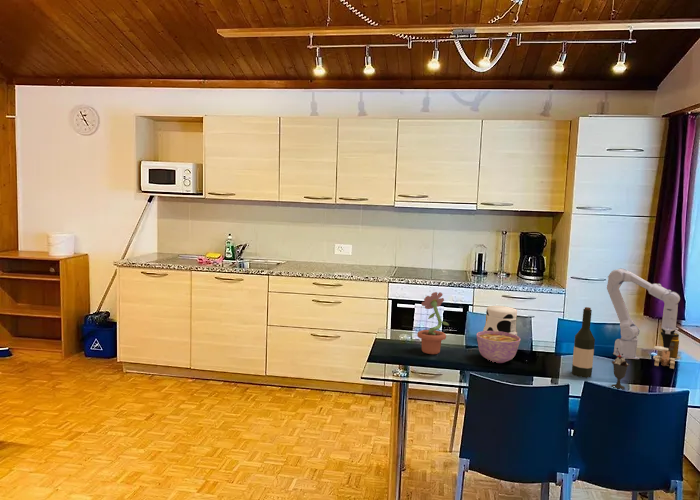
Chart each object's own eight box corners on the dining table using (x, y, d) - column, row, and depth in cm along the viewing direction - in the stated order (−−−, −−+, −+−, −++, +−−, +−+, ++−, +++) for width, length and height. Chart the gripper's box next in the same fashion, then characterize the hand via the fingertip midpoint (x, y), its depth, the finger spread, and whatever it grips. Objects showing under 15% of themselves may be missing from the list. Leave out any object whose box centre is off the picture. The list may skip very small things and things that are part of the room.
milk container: (480, 336, 292) (483, 304, 290) (513, 339, 290) (516, 306, 288) (484, 345, 275) (486, 311, 273) (518, 348, 273) (521, 313, 271)
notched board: (673, 368, 250) (674, 363, 250) (654, 365, 254) (654, 360, 254) (674, 363, 259) (674, 358, 258) (655, 360, 263) (655, 355, 262)
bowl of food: (521, 358, 255) (523, 334, 254) (515, 370, 237) (517, 344, 236) (479, 351, 264) (481, 328, 263) (470, 362, 246) (472, 337, 244)
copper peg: (669, 366, 253) (671, 352, 253) (663, 366, 254) (664, 351, 253) (666, 364, 256) (667, 350, 256) (659, 364, 257) (661, 349, 256)
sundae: (610, 382, 227) (614, 348, 225) (628, 386, 223) (631, 351, 221) (607, 387, 221) (611, 351, 219) (625, 391, 217) (629, 355, 216)
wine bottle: (567, 371, 239) (573, 305, 236) (585, 371, 240) (591, 305, 237) (577, 377, 231) (583, 309, 228) (595, 378, 232) (602, 310, 229)
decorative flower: (438, 347, 268) (442, 288, 264) (452, 355, 255) (456, 293, 251) (411, 348, 263) (415, 288, 260) (424, 357, 250) (428, 294, 247)
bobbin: (657, 361, 261) (659, 349, 260) (650, 357, 267) (651, 345, 266) (669, 361, 261) (671, 349, 261) (662, 357, 267) (663, 346, 267)
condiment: (680, 357, 269) (683, 334, 268) (672, 360, 265) (675, 336, 263) (665, 353, 275) (668, 331, 274) (657, 355, 271) (659, 332, 269)
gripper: (679, 322, 245) (676, 350, 246) (679, 316, 257) (676, 344, 258) (661, 319, 248) (658, 347, 250) (662, 314, 261) (659, 341, 262)
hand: (666, 345), depth 254 cm, fingers open, 7 cm apart
